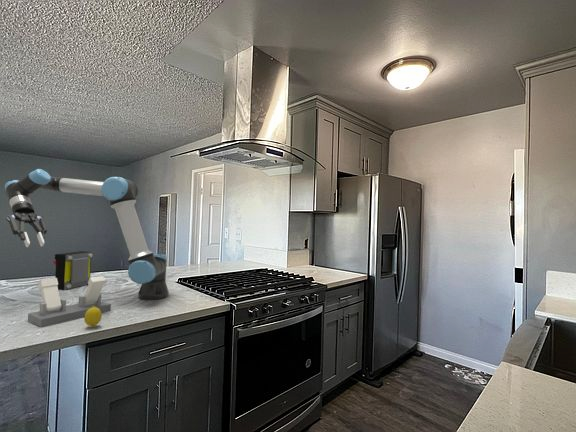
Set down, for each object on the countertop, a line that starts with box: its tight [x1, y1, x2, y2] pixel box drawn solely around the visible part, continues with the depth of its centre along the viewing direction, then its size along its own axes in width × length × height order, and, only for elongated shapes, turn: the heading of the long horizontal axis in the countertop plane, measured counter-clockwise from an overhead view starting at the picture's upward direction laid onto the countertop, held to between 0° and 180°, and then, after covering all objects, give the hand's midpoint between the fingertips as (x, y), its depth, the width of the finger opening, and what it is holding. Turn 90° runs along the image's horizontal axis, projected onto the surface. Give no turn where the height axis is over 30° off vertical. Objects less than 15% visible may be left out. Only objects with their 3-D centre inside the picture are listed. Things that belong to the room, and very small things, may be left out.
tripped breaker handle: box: [37, 277, 62, 312], centre depth 123 cm, size 3×6×13 cm, turn 150°
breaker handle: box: [83, 275, 107, 304], centre depth 132 cm, size 3×6×13 cm, turn 149°
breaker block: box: [27, 292, 112, 328], centre depth 128 cm, size 12×26×8 cm, turn 150°
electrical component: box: [53, 250, 94, 291], centre depth 178 cm, size 18×10×20 cm, turn 168°
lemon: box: [84, 306, 103, 328], centre depth 116 cm, size 6×6×8 cm
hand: (35, 244), depth 132 cm, fingers open, 4 cm apart
